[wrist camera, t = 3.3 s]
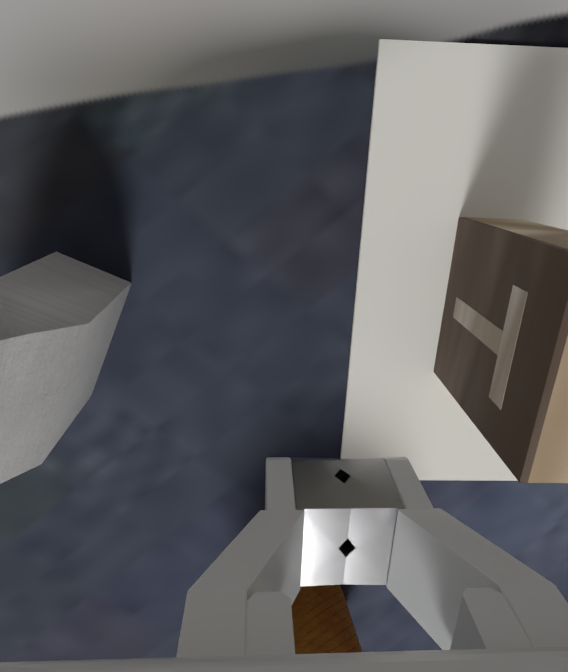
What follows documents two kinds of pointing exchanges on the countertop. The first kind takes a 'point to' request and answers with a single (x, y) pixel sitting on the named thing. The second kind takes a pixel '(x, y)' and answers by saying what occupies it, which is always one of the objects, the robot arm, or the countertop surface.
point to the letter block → (510, 341)
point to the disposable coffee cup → (323, 621)
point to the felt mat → (442, 229)
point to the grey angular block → (50, 352)
